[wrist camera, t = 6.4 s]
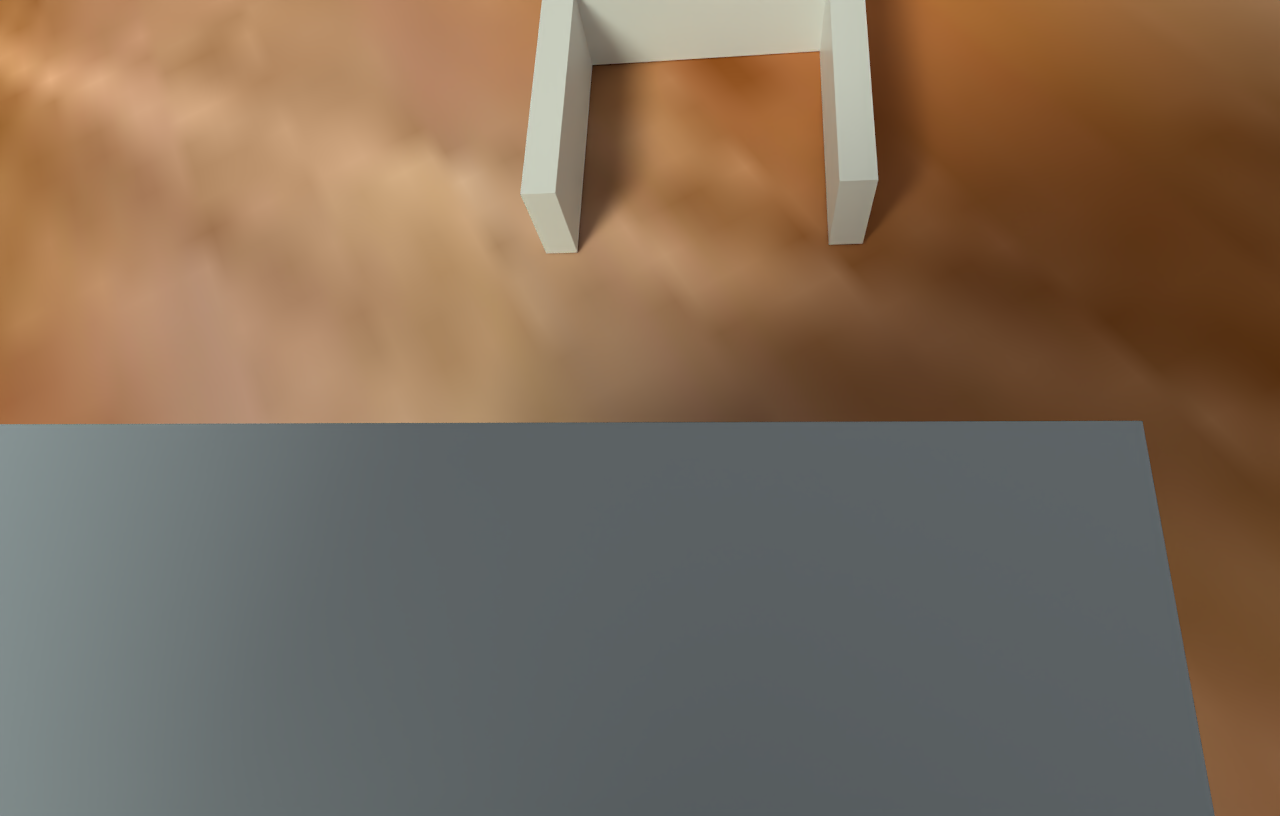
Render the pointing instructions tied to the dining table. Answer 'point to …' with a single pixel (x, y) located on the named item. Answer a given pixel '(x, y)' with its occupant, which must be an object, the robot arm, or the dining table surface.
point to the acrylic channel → (691, 29)
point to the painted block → (590, 621)
